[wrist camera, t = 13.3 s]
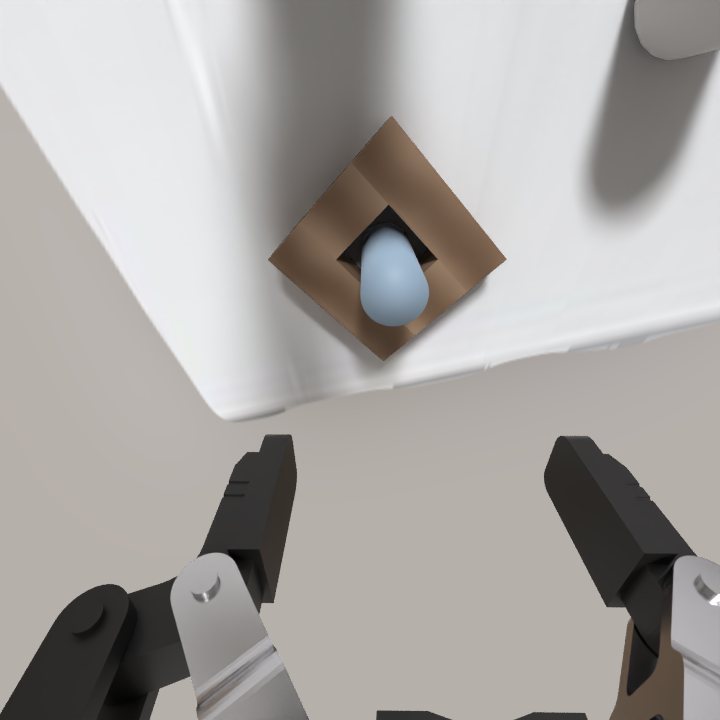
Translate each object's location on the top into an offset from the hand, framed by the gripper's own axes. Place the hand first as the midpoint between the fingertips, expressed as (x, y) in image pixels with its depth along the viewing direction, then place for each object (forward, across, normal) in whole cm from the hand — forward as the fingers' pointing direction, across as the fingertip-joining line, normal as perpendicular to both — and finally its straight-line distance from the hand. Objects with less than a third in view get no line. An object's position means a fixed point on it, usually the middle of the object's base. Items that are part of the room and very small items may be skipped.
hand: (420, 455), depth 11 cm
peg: (+26, 0, 0) cm, 26 cm away
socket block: (+26, 0, 0) cm, 26 cm away
